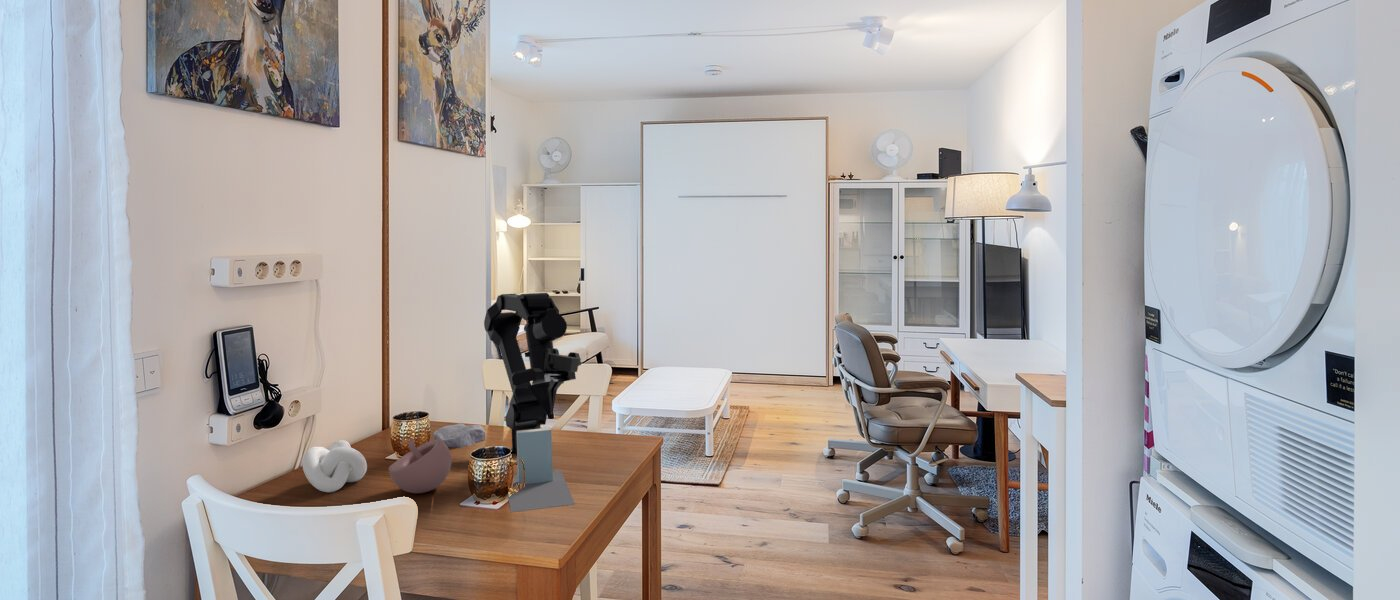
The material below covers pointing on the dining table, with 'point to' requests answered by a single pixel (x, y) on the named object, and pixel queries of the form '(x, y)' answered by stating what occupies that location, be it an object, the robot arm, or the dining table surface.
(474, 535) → the dining table surface
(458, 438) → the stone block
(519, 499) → the mat
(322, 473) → the white knot sculpture
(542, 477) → the tile
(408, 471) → the mortar and pestle
